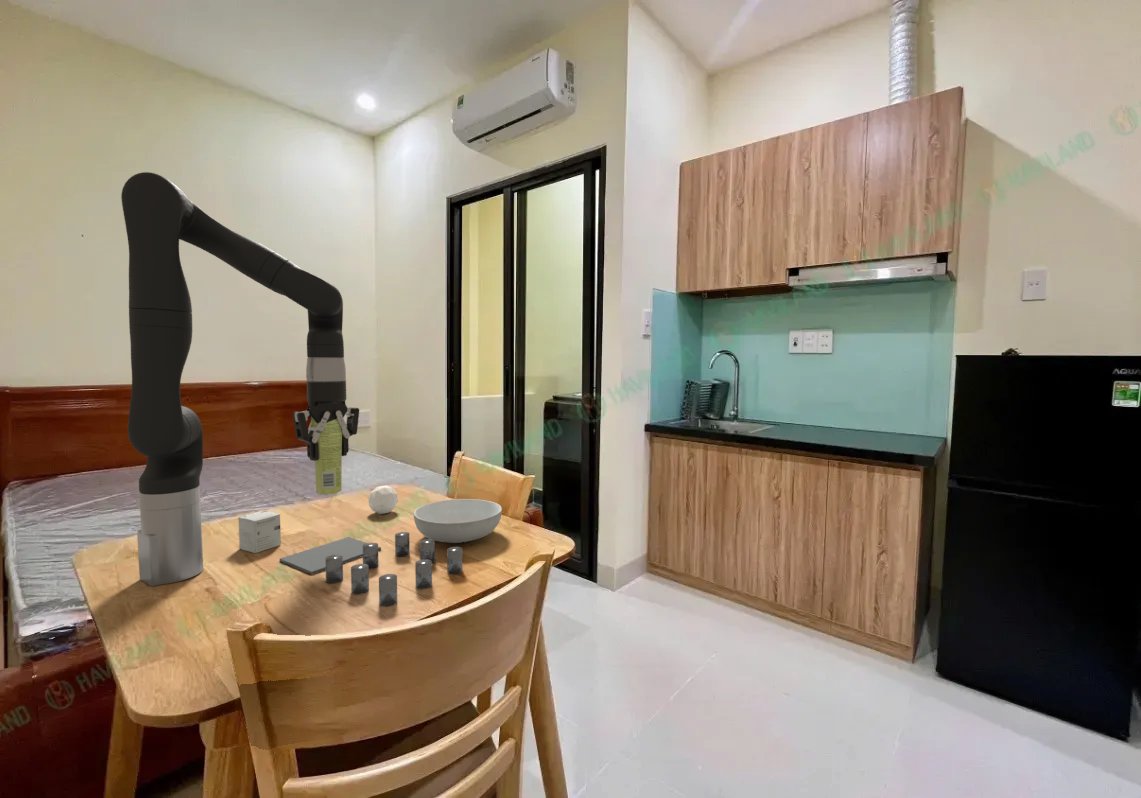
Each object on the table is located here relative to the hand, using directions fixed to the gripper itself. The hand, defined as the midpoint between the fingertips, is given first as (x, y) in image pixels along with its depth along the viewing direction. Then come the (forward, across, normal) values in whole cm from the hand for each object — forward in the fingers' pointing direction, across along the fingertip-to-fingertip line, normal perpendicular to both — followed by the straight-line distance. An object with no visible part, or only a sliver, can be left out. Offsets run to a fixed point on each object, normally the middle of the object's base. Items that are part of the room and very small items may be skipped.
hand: (328, 457), depth 109 cm
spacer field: (+22, +1, -20) cm, 29 cm away
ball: (+22, +26, +17) cm, 38 cm away
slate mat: (+22, 0, 0) cm, 22 cm away
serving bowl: (+22, +24, -14) cm, 35 cm away
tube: (+8, 0, 0) cm, 8 cm away
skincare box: (+22, -6, +18) cm, 29 cm away
